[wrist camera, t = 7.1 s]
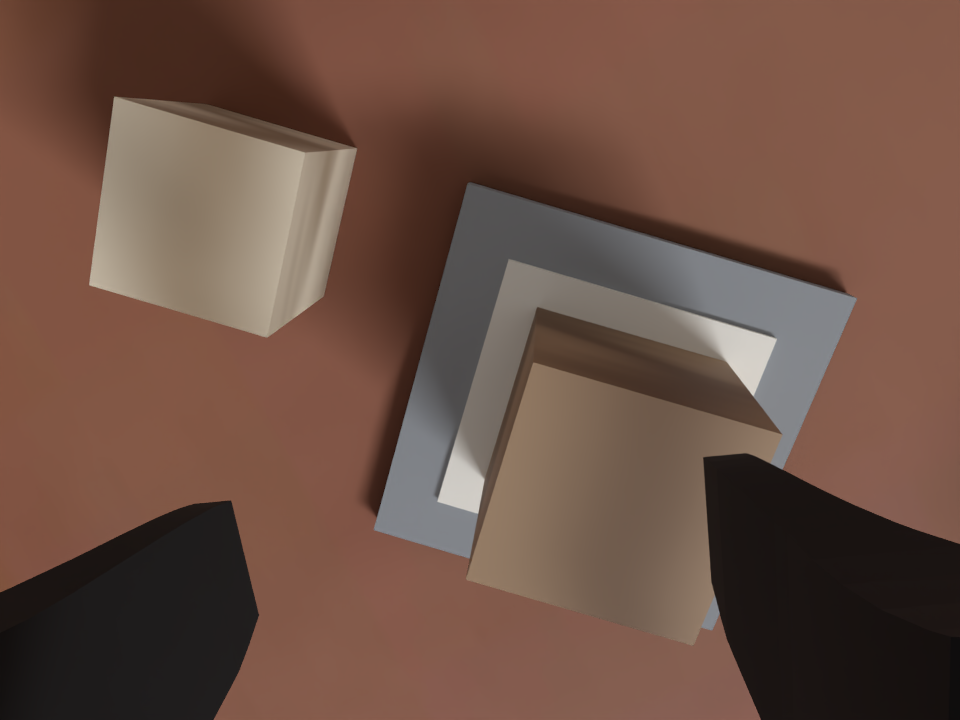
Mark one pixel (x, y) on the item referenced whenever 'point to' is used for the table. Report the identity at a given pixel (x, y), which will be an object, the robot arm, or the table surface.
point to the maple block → (218, 213)
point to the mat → (593, 298)
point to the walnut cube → (611, 475)
